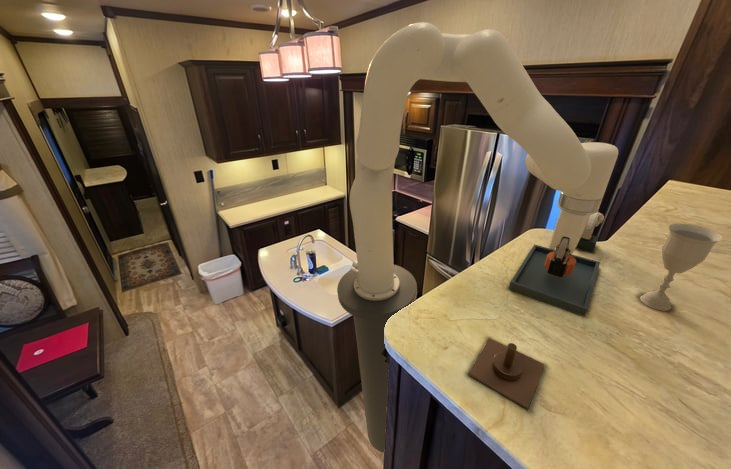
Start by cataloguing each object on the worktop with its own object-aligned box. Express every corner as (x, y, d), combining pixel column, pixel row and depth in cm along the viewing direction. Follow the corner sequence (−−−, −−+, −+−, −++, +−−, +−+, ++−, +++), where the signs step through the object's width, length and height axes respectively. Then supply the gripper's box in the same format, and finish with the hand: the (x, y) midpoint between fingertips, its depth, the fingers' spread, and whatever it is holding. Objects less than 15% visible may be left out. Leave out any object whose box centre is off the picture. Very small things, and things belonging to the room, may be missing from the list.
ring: (541, 269, 72) (544, 259, 70) (547, 258, 76) (550, 248, 74) (570, 278, 68) (573, 268, 67) (574, 266, 72) (578, 256, 71)
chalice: (626, 296, 66) (660, 227, 58) (646, 288, 68) (682, 220, 59) (664, 317, 60) (708, 244, 52) (685, 308, 62) (731, 236, 53)
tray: (508, 288, 71) (510, 282, 70) (532, 250, 85) (534, 244, 84) (584, 316, 62) (587, 309, 61) (597, 268, 76) (600, 261, 75)
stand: (467, 374, 52) (471, 350, 49) (488, 339, 59) (493, 316, 55) (527, 409, 46) (537, 385, 43) (543, 366, 53) (552, 341, 49)
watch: (595, 243, 86) (608, 209, 81) (591, 255, 81) (604, 220, 76) (573, 237, 89) (584, 205, 84) (568, 249, 84) (579, 215, 79)
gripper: (566, 186, 71) (549, 248, 80) (550, 211, 60) (531, 280, 69) (604, 192, 67) (581, 257, 75) (594, 220, 55) (568, 292, 64)
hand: (558, 267), depth 72 cm, fingers closed on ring, 6 cm apart
